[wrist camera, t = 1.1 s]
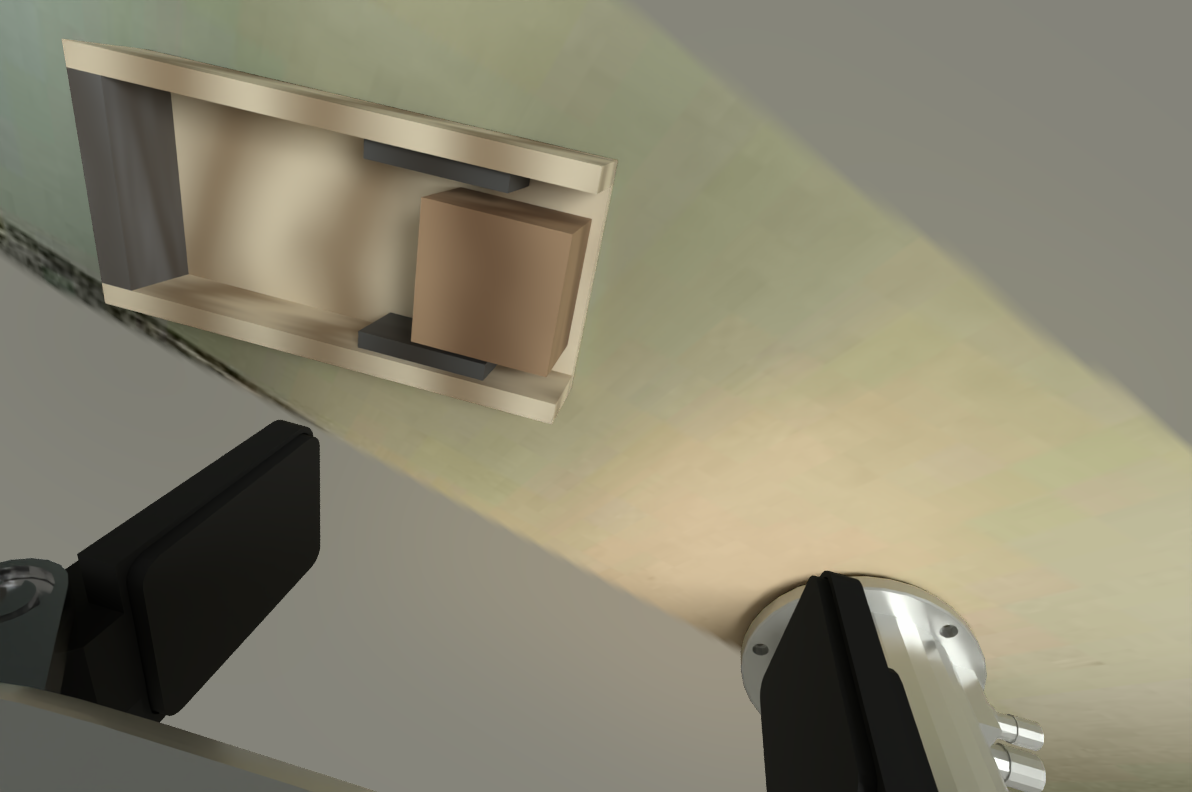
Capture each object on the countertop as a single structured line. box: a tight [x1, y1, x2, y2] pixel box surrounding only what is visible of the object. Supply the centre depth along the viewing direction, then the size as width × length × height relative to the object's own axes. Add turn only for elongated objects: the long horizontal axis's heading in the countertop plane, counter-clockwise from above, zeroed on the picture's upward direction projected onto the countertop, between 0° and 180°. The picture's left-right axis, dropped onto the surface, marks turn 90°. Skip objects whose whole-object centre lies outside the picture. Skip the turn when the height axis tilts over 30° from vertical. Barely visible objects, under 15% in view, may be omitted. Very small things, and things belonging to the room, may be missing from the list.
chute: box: [62, 39, 618, 424], centre depth 27 cm, size 22×11×4 cm, turn 79°
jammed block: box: [411, 187, 592, 377], centre depth 26 cm, size 6×6×4 cm
